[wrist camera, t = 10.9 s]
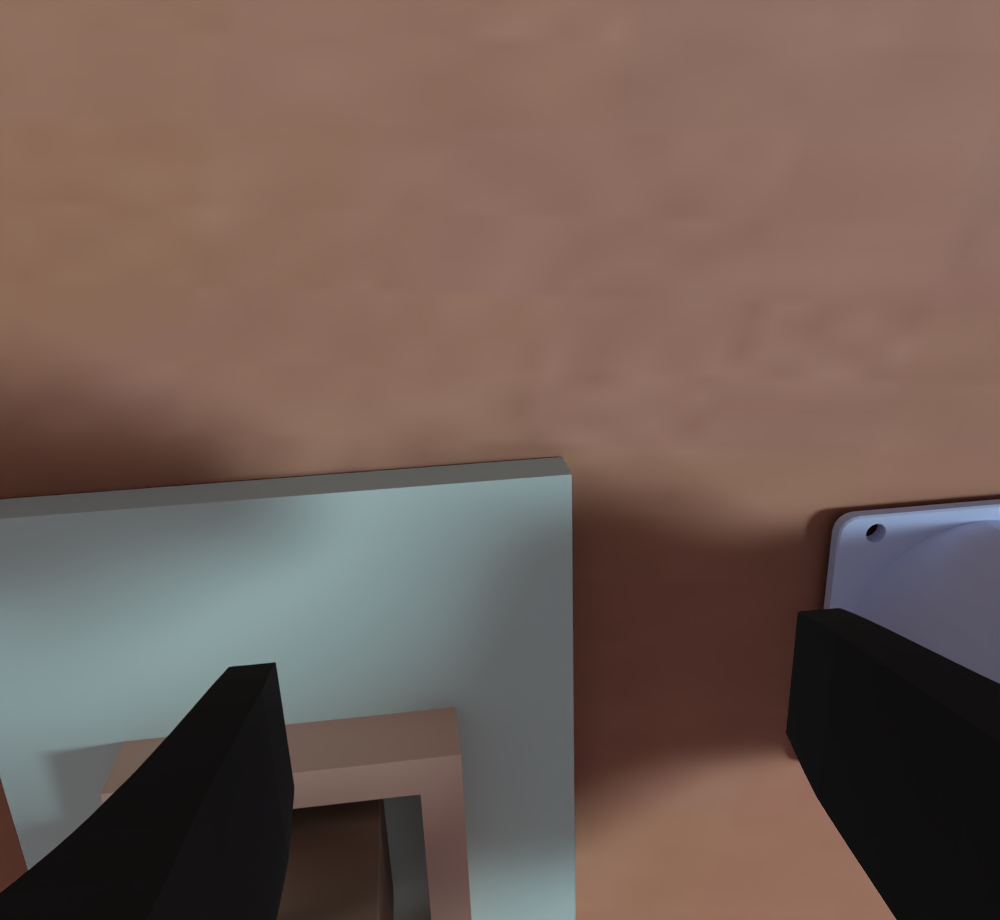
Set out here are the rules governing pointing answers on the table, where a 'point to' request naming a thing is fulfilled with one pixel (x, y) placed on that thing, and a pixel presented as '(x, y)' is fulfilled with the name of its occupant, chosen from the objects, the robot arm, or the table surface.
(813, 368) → the table surface
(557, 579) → the dock board
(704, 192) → the table surface
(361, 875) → the spigot block
